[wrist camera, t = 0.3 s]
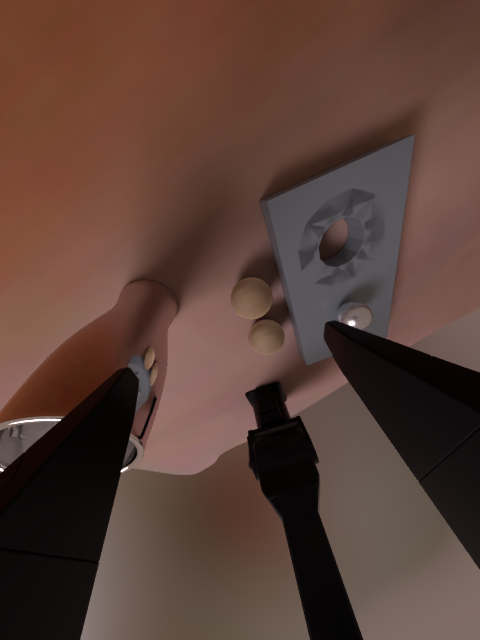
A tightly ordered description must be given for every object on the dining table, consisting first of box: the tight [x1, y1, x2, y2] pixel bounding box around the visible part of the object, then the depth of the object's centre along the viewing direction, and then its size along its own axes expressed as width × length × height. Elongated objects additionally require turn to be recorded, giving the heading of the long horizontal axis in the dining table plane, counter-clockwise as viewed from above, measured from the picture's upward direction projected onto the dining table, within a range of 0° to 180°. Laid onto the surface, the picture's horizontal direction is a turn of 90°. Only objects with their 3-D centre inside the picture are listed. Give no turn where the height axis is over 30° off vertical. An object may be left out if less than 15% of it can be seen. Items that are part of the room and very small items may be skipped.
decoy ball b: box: [231, 277, 273, 319], centre depth 20 cm, size 4×4×4 cm
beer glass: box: [0, 280, 178, 473], centre depth 15 cm, size 7×7×15 cm
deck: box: [260, 134, 415, 366], centre depth 22 cm, size 22×12×2 cm, turn 21°
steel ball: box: [336, 301, 373, 330], centre depth 21 cm, size 4×4×4 cm
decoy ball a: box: [249, 319, 285, 355], centre depth 23 cm, size 4×4×4 cm
